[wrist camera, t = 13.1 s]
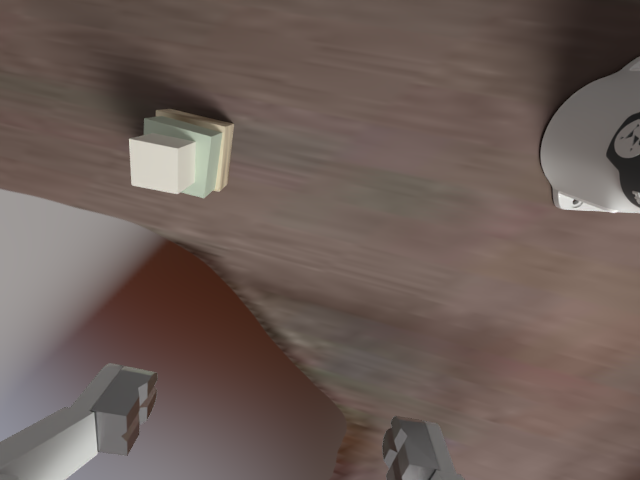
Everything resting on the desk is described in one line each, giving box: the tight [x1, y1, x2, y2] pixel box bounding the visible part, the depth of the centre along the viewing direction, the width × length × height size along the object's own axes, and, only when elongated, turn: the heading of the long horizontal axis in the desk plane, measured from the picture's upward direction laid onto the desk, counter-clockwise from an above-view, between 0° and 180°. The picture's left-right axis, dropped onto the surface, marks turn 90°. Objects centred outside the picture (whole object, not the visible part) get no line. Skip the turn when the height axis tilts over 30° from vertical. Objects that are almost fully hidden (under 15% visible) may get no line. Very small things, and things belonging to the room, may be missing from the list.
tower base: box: [156, 109, 234, 192], centre depth 40 cm, size 8×8×4 cm
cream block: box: [129, 133, 196, 194], centre depth 33 cm, size 4×4×4 cm
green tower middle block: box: [144, 116, 223, 198], centre depth 37 cm, size 7×7×4 cm
